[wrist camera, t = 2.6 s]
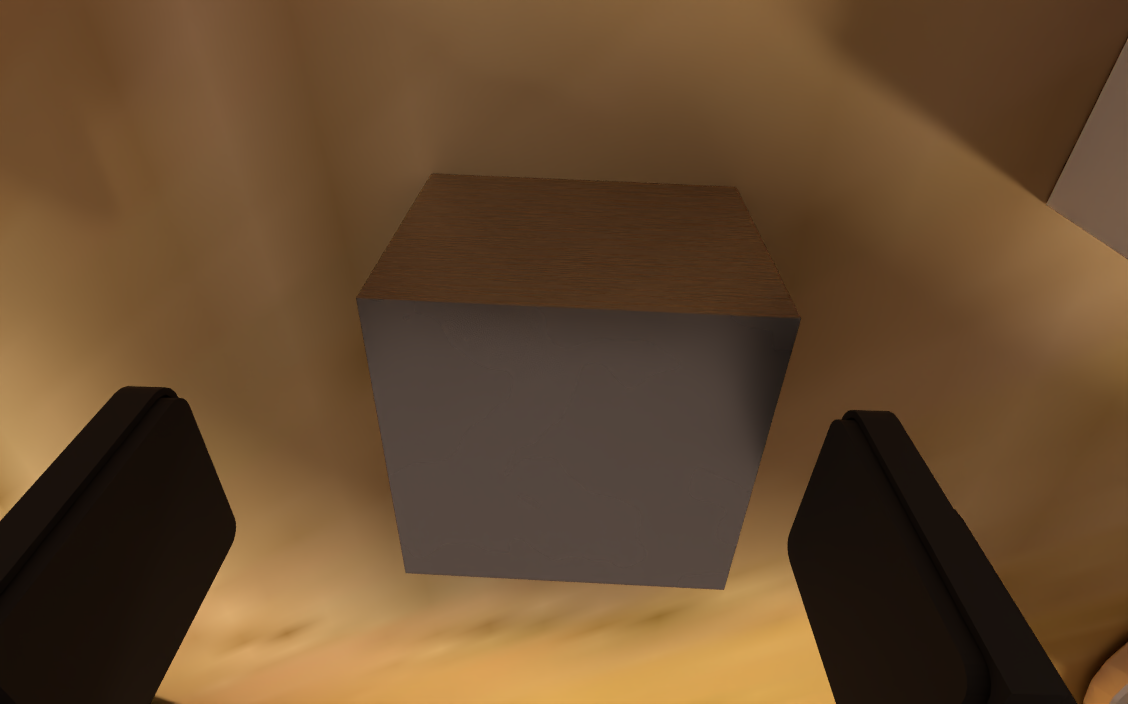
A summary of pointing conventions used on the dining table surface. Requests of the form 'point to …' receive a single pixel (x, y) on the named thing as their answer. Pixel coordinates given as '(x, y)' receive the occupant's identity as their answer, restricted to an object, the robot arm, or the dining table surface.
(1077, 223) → the tote
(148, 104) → the dining table surface
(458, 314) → the block
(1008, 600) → the robot arm
